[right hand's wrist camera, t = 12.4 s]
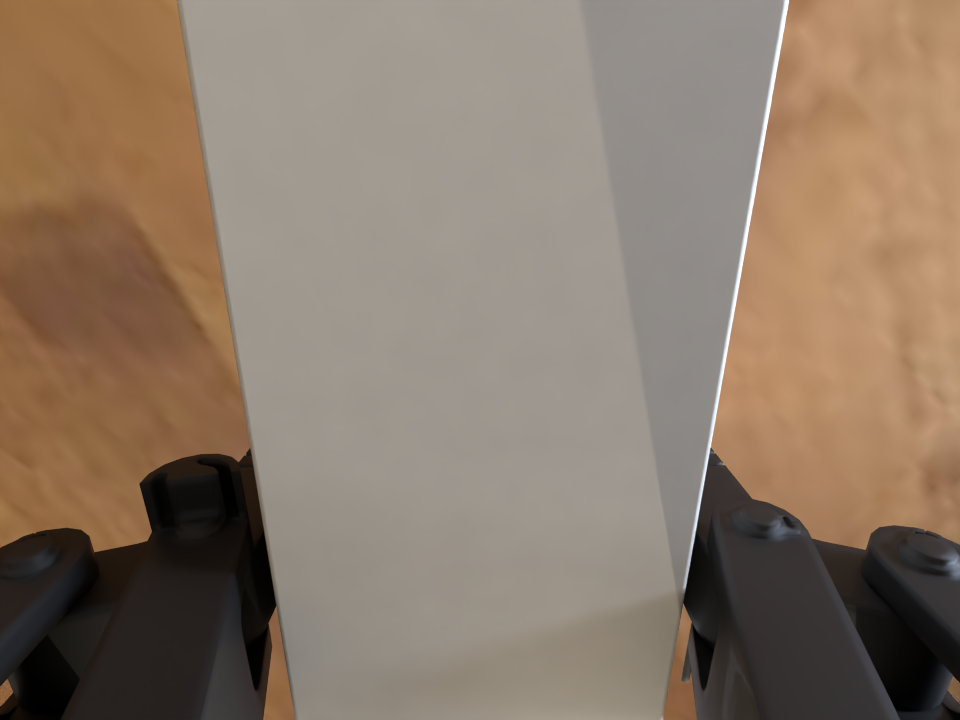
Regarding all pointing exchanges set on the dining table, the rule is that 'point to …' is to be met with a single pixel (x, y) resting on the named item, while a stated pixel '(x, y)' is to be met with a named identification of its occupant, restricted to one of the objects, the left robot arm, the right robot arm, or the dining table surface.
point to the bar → (481, 329)
